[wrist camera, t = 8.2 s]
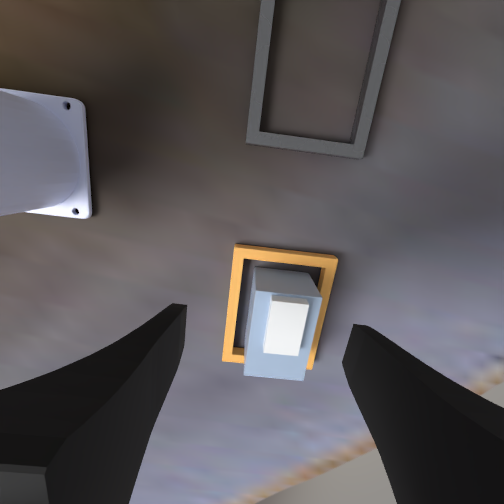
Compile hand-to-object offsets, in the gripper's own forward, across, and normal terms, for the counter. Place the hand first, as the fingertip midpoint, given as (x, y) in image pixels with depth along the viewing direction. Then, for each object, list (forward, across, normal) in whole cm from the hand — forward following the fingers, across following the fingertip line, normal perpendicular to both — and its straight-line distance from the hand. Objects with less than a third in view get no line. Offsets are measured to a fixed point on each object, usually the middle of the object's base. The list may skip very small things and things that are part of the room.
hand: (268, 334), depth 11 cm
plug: (+10, -2, +4) cm, 11 cm away
